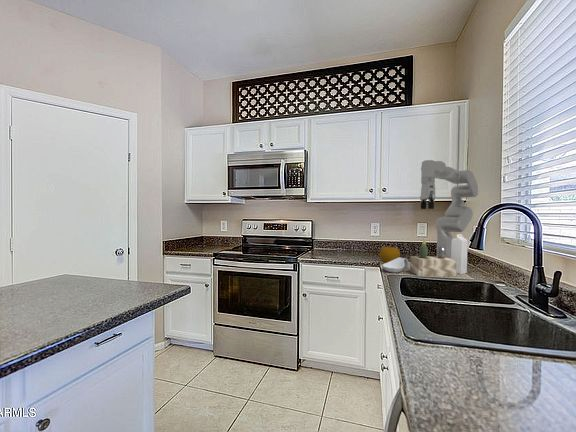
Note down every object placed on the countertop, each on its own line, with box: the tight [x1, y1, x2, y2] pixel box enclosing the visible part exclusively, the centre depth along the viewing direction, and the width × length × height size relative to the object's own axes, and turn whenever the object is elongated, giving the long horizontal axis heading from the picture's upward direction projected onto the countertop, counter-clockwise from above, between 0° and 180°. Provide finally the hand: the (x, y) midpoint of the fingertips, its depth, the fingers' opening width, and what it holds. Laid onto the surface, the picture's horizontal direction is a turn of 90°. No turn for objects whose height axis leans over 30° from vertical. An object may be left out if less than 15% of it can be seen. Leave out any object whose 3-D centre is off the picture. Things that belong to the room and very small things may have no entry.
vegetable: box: [418, 237, 429, 259], centre depth 166 cm, size 4×4×20 cm
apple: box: [378, 246, 401, 264], centre depth 197 cm, size 13×13×11 cm
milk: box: [451, 233, 469, 275], centre depth 172 cm, size 6×6×22 cm
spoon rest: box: [381, 256, 410, 274], centre depth 175 cm, size 24×12×7 cm, turn 136°
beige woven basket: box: [409, 247, 457, 277], centre depth 166 cm, size 20×11×15 cm, turn 90°
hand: (427, 208), depth 184 cm, fingers open, 9 cm apart
